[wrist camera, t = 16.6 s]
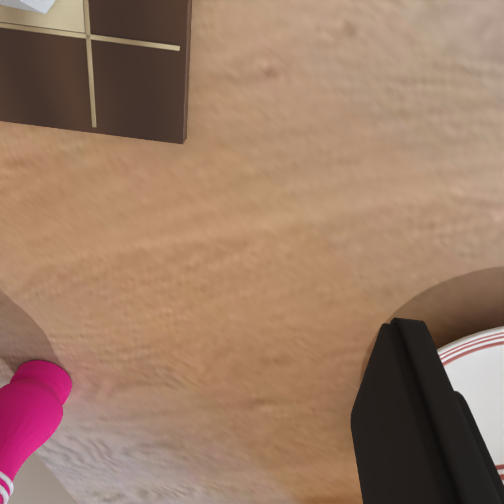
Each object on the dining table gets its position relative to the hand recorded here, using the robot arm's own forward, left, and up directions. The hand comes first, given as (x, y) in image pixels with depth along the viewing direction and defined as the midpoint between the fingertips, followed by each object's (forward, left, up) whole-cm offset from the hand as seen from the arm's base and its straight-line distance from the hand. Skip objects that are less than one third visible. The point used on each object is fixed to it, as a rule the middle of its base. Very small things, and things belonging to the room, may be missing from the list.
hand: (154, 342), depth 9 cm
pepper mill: (+19, +35, -28) cm, 49 cm away
